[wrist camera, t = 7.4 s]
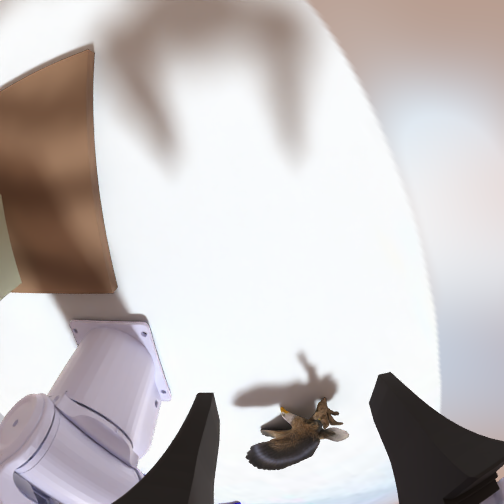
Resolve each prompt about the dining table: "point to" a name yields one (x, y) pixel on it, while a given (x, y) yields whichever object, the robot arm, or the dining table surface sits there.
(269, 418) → the dining table surface
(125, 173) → the dining table surface
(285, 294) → the dining table surface
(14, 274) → the sage green brick
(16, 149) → the walnut board
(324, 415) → the eagle figurine
